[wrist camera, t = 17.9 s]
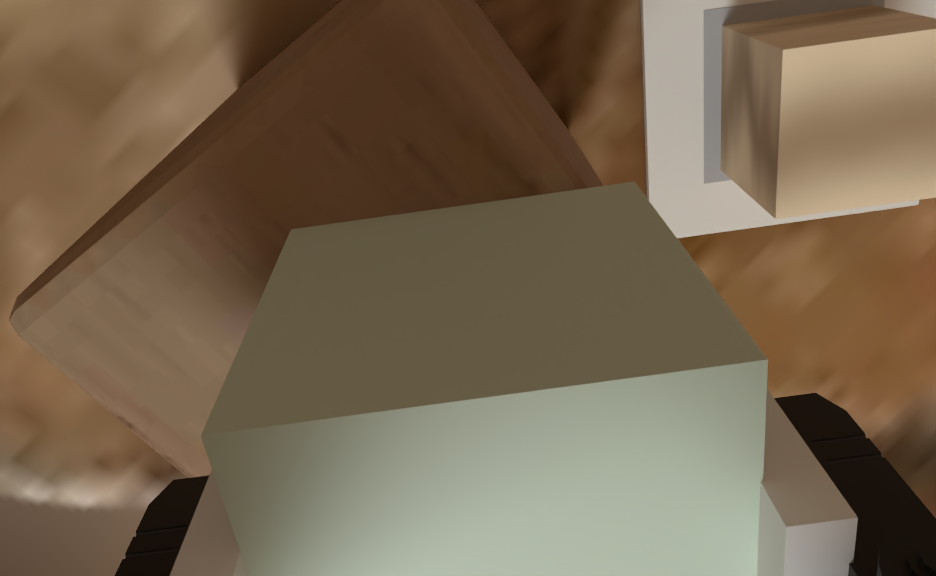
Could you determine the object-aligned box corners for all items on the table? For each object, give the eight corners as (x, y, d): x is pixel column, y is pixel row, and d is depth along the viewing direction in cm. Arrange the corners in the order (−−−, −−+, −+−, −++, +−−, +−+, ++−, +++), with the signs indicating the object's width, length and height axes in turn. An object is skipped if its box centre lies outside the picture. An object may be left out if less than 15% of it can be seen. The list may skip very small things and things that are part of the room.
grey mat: (638, -47, 31) (641, -47, 30) (948, -92, 30) (955, -92, 30) (648, 238, 36) (650, 242, 35) (913, 201, 36) (918, 205, 35)
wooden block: (424, -71, 30) (418, -42, 12) (571, 134, 34) (736, 393, 16) (232, 93, 32) (-14, 324, 14) (390, 268, 36) (352, 628, 18)
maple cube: (722, 25, 32) (782, 49, 26) (872, 4, 31) (964, 24, 26) (720, 170, 34) (775, 219, 29) (859, 151, 34) (940, 196, 29)
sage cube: (291, 229, 14) (200, 435, 8) (634, 181, 14) (767, 359, 8) (357, 498, 16) (320, 789, 11) (646, 459, 16) (754, 734, 11)
